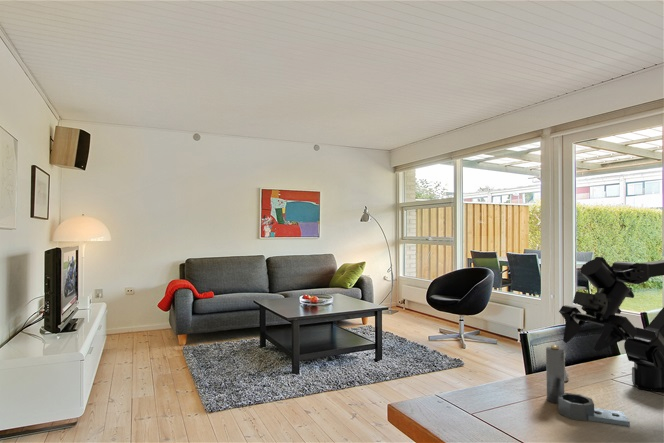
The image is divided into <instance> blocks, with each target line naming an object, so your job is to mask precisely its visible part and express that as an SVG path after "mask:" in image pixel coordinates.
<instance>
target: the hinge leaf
mask: <svg viewBox="0 0 664 443" xmlns="http://www.w3.org/2000/svg"><path fill="white" fill-rule="evenodd" d="M557 409H558V410H557V411H558V413H559V415H561V416H564V417H566V418H568V419H570V420H575V421H581V420H582V422H588V421H590V422H596V423H597V422H598V423H605V424H609V425H611V424H612V425H618V426H625V427H630V420H629V419H628V417H627V415H625V413H624V411H622V410H621V411H619V410H613V409H604V408H598V407H597V408H596V407H595V403H594V400H593V399H592V398H590V397H588V396H585V395H582V394H579V393H572V392H570V393H569V392H564V393H563V394H558V404H557Z"/></svg>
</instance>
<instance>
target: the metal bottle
mask: <svg viewBox="0 0 664 443" xmlns="http://www.w3.org/2000/svg"><path fill="white" fill-rule="evenodd" d="M564 352H565V350H564V349H563V348H561V347H560V346H559V345H555V344H551V345H550V346H547V347H546V348H545V356H546V357H545V358H546V359H545V360H546V361H545V362H546V364H545V365H546V368H545V369H546V371H545V372H546V376H545V377H546V401H548V402H549V403H551V404H557V405H558V394H563V393H565V382H564V359H565V358H564Z"/></svg>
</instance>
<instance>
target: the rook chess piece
mask: <svg viewBox="0 0 664 443" xmlns="http://www.w3.org/2000/svg"><path fill="white" fill-rule="evenodd" d="M566 357H567V354H566V352H565V351H564V383H566V382H568V381H569V380H570V378H569V373H568V372H567V370H566V364H565V363H566V360H565V358H566Z"/></svg>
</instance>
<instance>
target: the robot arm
mask: <svg viewBox="0 0 664 443" xmlns="http://www.w3.org/2000/svg"><path fill="white" fill-rule="evenodd" d="M580 273H581V274H582V276H583V277H585V278H586V280H587V281H588V282H589V283H590V284H591V285H592V286H593V287H594V288H595V289H599V291H598V292H597V291H596V292H595V293H594V294H593V293H589V292H584V291H577V290H575V294H574V298H573V301H572V304H575V305H576V304H577V305H579V306H580V308H581V310H582V311H583V312H585V313H582V312H581V310H579V308H577V307H576V306H570V305H561V308H559V310H558V313H559V314H560V315H561V317H562V318H563V319H564V321H565V322H564V323H565V326H564V333H563V338H562V340H563V342H564V343H565V344H568V343H569V342H570V341H571V340H572V339H573V338H574V337H575V336H576V335H577V334H578V333H580V331H581V330H582V329H583V327H582V326H584V325H585V323H589V324H594V325H595V324H596V325H598V326H603V330H602V333H601V335H600V336H599V338H598V340H597V342H596V343H595V345H594V348H593V351H594V352H596V353H599V352H601V351H603V350H604V349H607V348H608V347H610V346H612V345H614V344H617V343H620V342H622V341H624V344H623V347H624V351H625V354H626V357H627V360H628V361H629V362H633V366H632V367H631V382H632V383H633V384H634V385H635V386H636V388H637V389H639V390H643V391H652V392H659V393H664V306H663V307H662V309H661V310H660V311H659V312H658V313H657V314H656V315H655V317H654V318H653V319H652V321H651V322H650V323H649V324H648V325H647V326H646V327H645V328H640V327H637V326H636V327H635V325H634V324H633V323H632V322H631V321H630V320H629V319H628V317H626V316H621V315H620V314H621V313H622V309H621V306H622V304H623V302H624V301H625V299H626V298H630V299H634V298H635V294H634V292H633V290H632V287H629V286H628V285H627V284H633V285H641V284H643V283H645V282H648V281H649V280H650V279H651V278H654V277H661V276H664V259H661V260H660V259H659V260H652V261H647V262H629V261H614V262H613V263H612V265H610V264H609V263H608V262H607V261H606V259H605V258H604V257H603V256H595V257H594V258H593V259H590V260H589V261H587V262H586V263H584V264H582V265H581V267H580Z"/></svg>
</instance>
